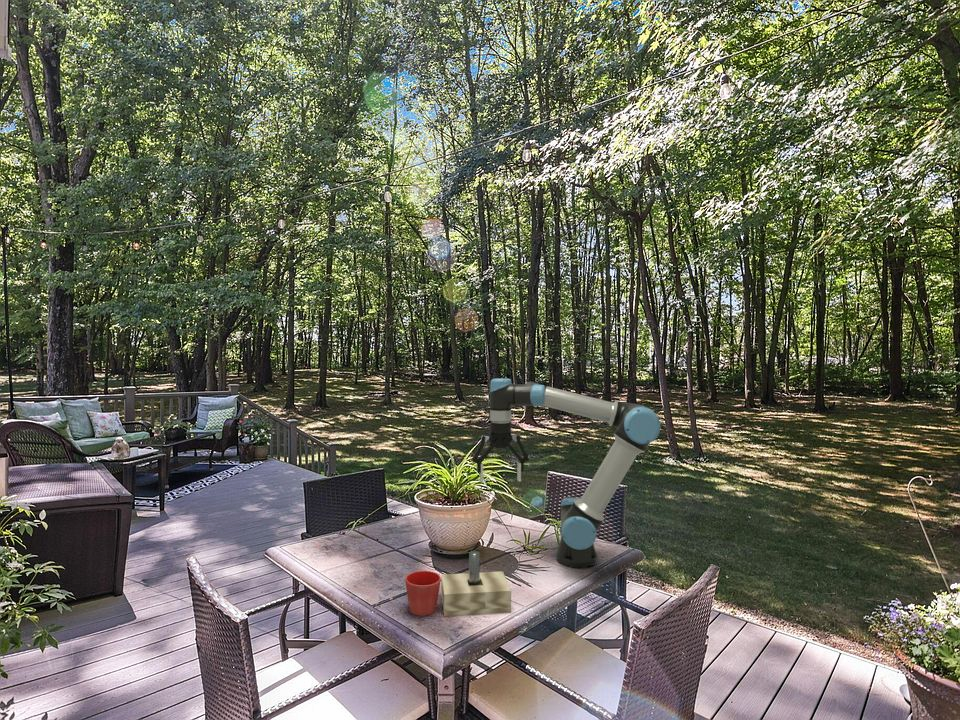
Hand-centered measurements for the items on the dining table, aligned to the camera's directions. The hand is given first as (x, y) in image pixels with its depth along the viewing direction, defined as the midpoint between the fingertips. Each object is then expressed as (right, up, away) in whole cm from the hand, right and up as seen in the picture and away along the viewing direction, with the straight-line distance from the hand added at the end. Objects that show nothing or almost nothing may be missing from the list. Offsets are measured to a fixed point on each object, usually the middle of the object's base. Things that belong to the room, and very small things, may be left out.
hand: (500, 481), depth 187 cm
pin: (-9, -30, -25) cm, 40 cm away
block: (-9, -32, -25) cm, 41 cm away
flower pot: (-24, -32, -29) cm, 50 cm away
